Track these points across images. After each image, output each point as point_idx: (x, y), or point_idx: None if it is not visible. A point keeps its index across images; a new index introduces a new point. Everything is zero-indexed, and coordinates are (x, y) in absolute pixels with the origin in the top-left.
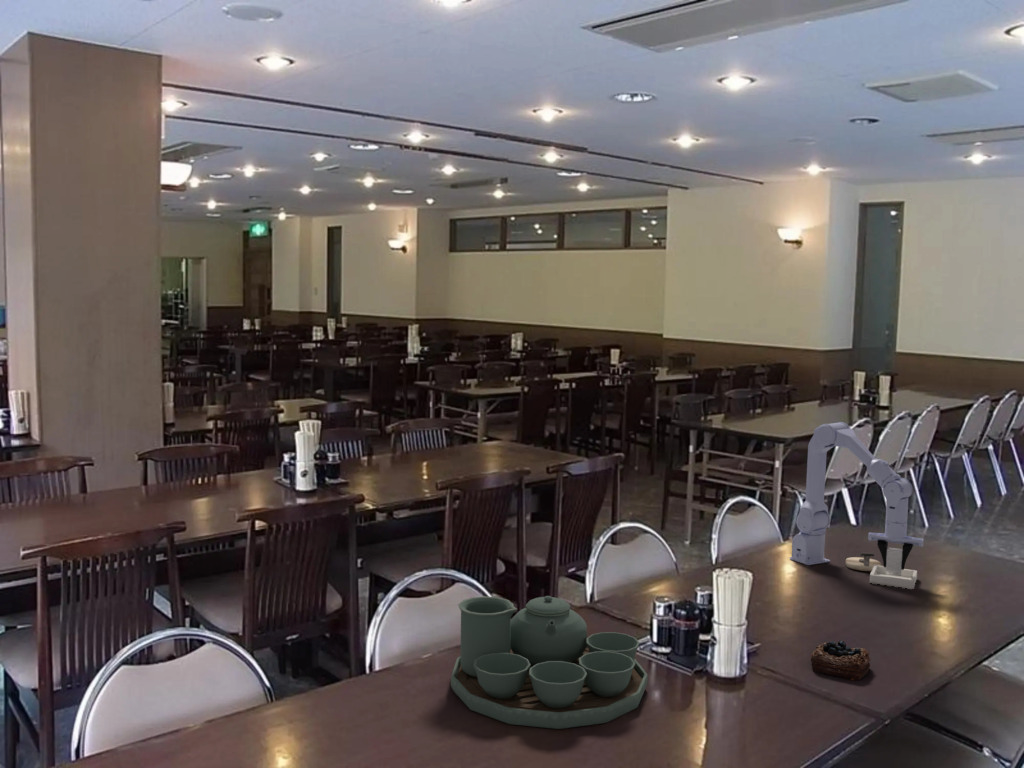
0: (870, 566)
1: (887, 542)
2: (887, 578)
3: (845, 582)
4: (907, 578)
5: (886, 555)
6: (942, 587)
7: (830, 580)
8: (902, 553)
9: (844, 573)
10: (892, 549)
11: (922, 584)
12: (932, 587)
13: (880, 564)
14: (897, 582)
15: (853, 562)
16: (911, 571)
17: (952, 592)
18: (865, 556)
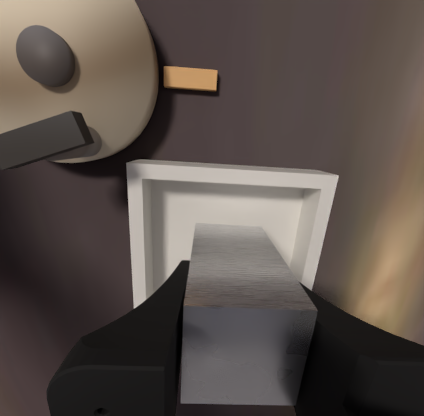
0: (109, 153)
1: (166, 407)
2: None
3: (70, 327)
4: (278, 207)
5: (182, 326)
6: (394, 242)
7: (20, 327)
8: (295, 409)
9: (30, 220)
10: (222, 362)
11: (327, 236)
12: (357, 257)
13: (151, 80)
14: None
15: (9, 111)
16: (307, 187)
17: (412, 285)
18: (45, 158)
